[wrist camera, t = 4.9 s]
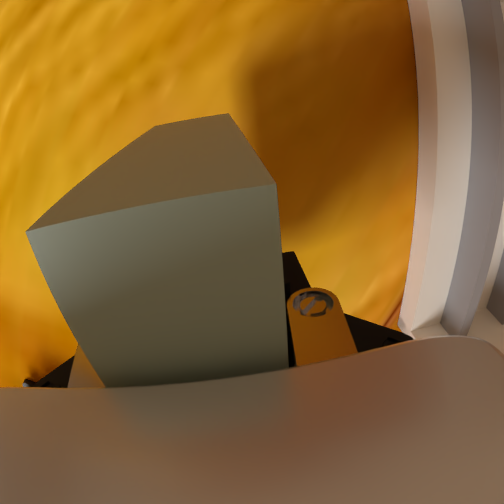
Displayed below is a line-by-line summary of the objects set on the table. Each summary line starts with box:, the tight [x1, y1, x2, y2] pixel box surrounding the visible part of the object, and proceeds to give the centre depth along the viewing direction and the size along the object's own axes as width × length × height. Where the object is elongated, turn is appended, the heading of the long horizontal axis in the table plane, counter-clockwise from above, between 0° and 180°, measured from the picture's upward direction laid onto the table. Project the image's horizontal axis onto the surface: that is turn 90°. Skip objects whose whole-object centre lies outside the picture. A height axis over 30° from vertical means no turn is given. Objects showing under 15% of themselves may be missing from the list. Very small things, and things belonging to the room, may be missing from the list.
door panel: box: [26, 113, 289, 387], centre depth 10 cm, size 10×3×10 cm, turn 6°
